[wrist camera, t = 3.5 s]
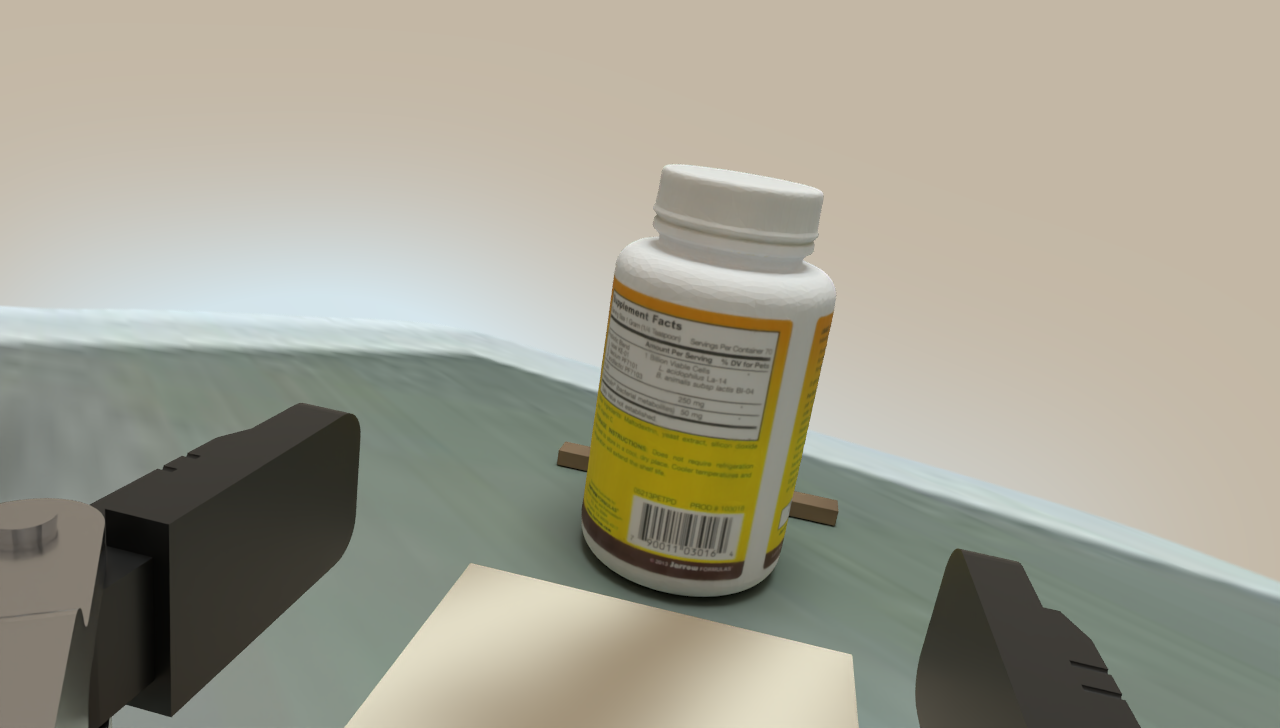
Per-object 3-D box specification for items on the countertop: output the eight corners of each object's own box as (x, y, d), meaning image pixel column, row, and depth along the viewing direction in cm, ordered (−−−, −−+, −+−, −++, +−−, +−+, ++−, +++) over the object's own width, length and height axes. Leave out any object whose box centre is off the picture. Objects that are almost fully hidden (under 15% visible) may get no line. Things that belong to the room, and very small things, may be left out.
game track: (833, 514, 27) (838, 497, 27) (938, 1910, 6) (960, 1874, 6) (563, 455, 28) (565, 438, 28) (-160, 1437, 7) (-169, 1396, 7)
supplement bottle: (697, 493, 27) (758, 170, 24) (818, 585, 23) (910, 205, 20) (541, 516, 24) (588, 150, 21) (645, 627, 20) (724, 186, 17)
